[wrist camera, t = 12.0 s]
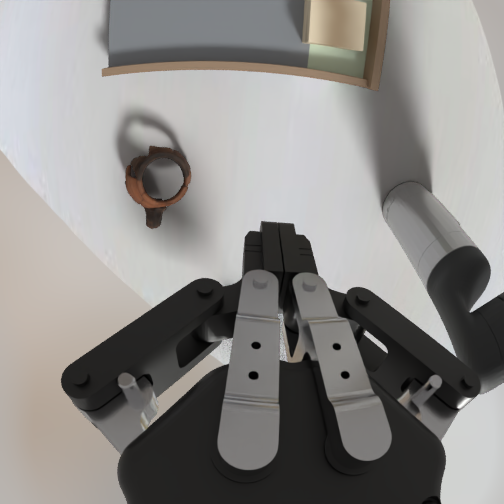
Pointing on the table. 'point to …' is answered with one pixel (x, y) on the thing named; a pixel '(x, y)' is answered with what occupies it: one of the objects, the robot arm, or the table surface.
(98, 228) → the table surface
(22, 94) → the table surface
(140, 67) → the board
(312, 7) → the maple block
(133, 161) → the brown curved piece
